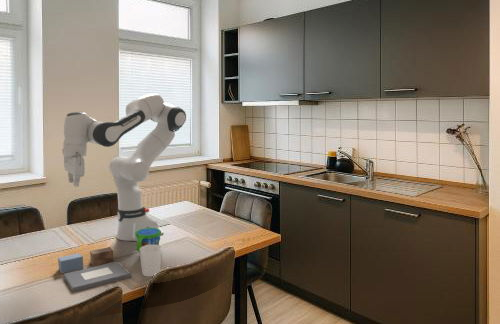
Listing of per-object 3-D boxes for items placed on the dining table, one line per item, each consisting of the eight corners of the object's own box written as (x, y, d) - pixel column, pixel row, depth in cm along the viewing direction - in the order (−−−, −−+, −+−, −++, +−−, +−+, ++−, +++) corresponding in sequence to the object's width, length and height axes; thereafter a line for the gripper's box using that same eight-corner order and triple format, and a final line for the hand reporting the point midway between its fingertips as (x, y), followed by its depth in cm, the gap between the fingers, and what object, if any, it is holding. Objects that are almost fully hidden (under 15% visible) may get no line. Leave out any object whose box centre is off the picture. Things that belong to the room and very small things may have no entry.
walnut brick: (110, 258, 167) (109, 246, 167) (113, 261, 164) (113, 250, 163) (90, 262, 163) (90, 250, 162) (93, 266, 159) (93, 254, 158)
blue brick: (80, 264, 160) (79, 253, 160) (83, 268, 157) (82, 256, 156) (58, 269, 156) (58, 257, 155) (61, 273, 152) (60, 261, 151)
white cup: (163, 268, 157) (162, 244, 155) (159, 277, 149) (158, 251, 148) (143, 268, 157) (142, 244, 155) (138, 277, 149) (137, 252, 147)
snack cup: (150, 246, 181) (149, 224, 180) (169, 249, 177) (169, 227, 176) (127, 258, 167) (126, 235, 166) (147, 262, 163) (146, 238, 161)
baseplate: (117, 264, 160) (117, 261, 160) (129, 277, 149) (129, 273, 149) (64, 277, 148) (63, 273, 148) (73, 291, 137) (72, 287, 137)
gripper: (89, 154, 157) (87, 188, 158) (77, 149, 173) (76, 180, 175) (72, 153, 153) (70, 188, 155) (61, 148, 170) (60, 180, 171)
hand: (73, 184), depth 165 cm, fingers open, 8 cm apart
